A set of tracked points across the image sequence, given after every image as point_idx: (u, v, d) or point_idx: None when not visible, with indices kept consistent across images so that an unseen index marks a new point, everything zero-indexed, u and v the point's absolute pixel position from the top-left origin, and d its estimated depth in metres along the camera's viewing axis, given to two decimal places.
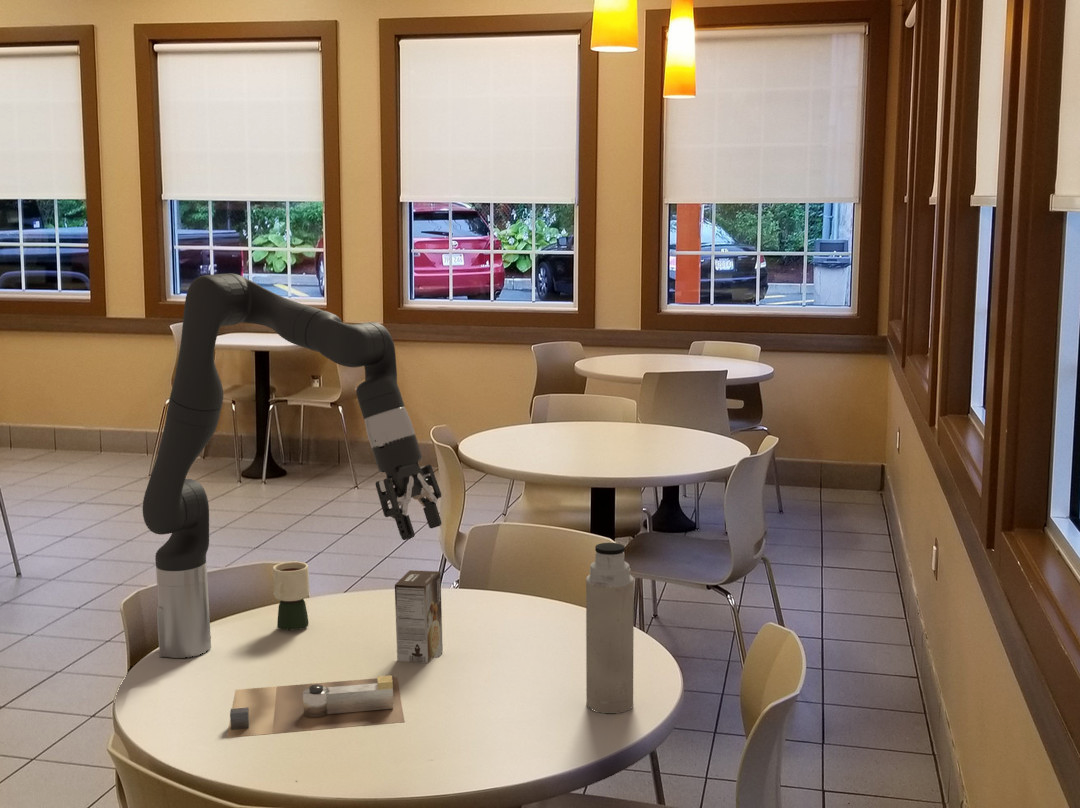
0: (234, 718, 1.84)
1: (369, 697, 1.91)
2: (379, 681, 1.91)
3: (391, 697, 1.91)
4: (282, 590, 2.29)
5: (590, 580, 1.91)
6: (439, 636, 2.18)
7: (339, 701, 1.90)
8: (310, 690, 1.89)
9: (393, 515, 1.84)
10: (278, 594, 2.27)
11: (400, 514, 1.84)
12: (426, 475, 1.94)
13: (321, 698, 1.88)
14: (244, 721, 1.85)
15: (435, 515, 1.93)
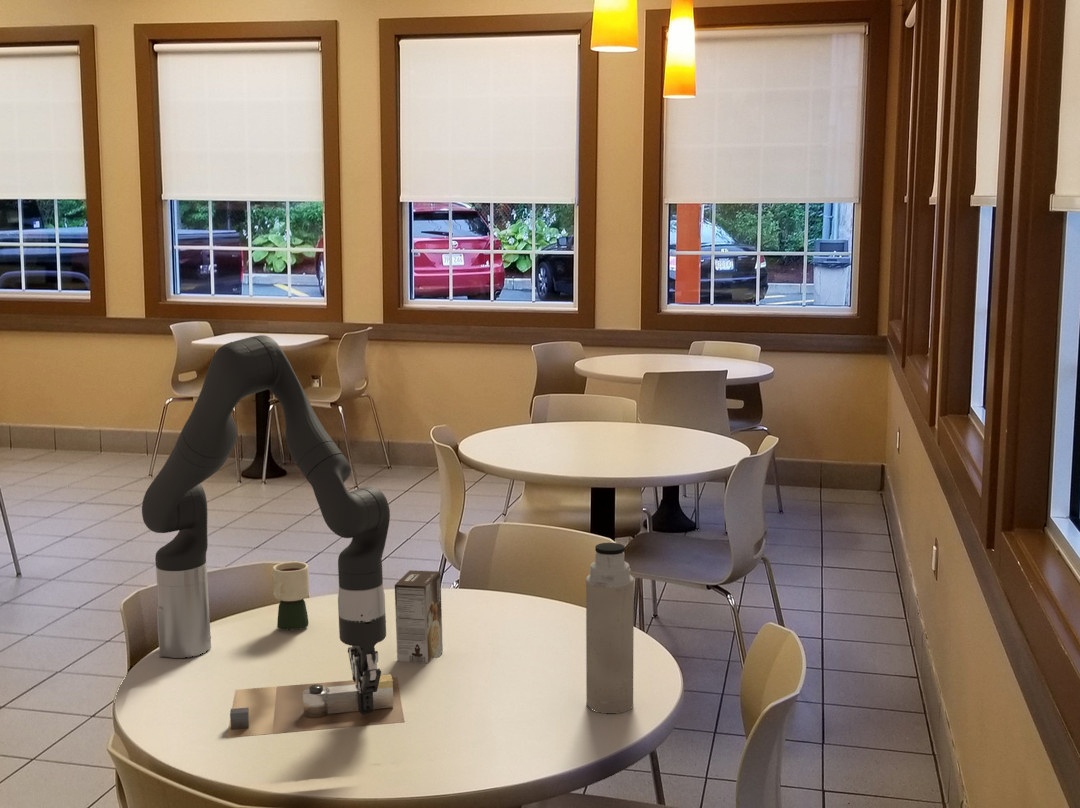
0: (234, 718, 1.84)
1: None
2: (379, 680, 1.91)
3: (391, 696, 1.92)
4: (282, 590, 2.29)
5: (590, 580, 1.91)
6: (439, 636, 2.18)
7: (339, 701, 1.90)
8: (310, 690, 1.89)
9: (369, 692, 1.86)
10: (278, 594, 2.27)
11: None
12: None
13: (322, 698, 1.88)
14: (244, 721, 1.85)
15: None
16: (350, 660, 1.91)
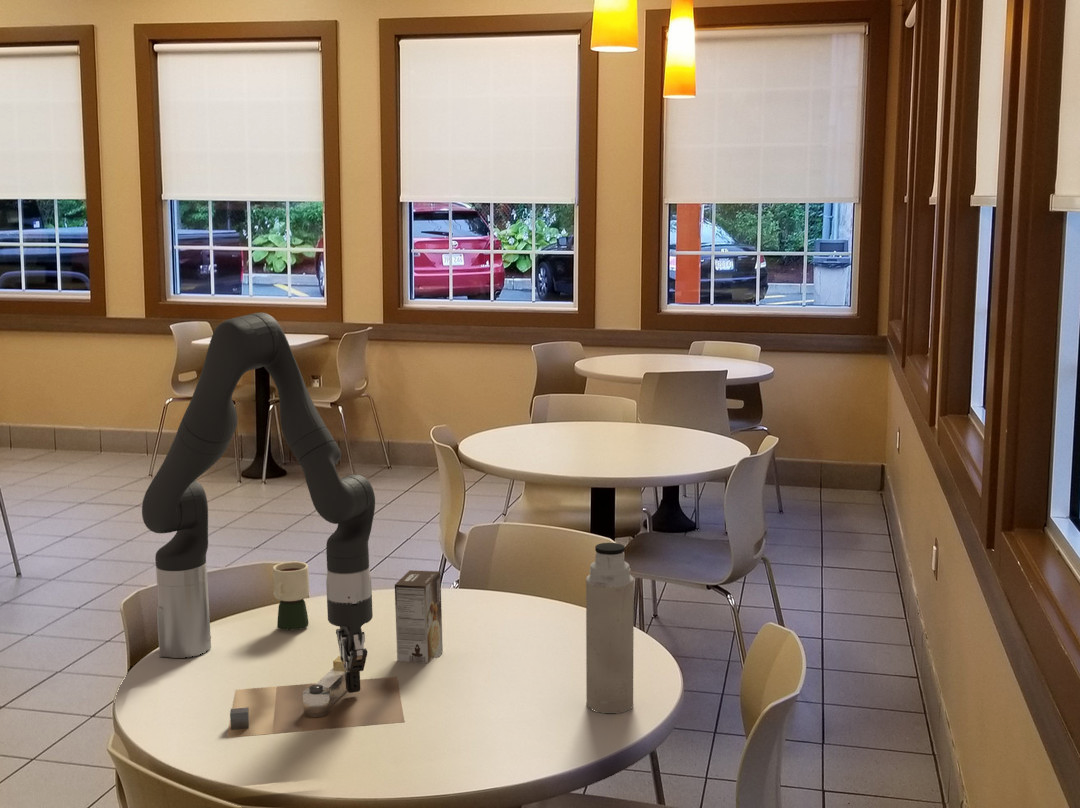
0: (234, 718, 1.84)
1: (345, 679, 1.98)
2: None
3: None
4: (282, 590, 2.29)
5: (590, 580, 1.91)
6: (439, 636, 2.18)
7: (333, 691, 1.94)
8: (316, 691, 1.89)
9: (356, 671, 1.94)
10: (278, 594, 2.27)
11: None
12: None
13: (329, 692, 1.91)
14: (244, 721, 1.85)
15: None
16: (338, 641, 2.00)
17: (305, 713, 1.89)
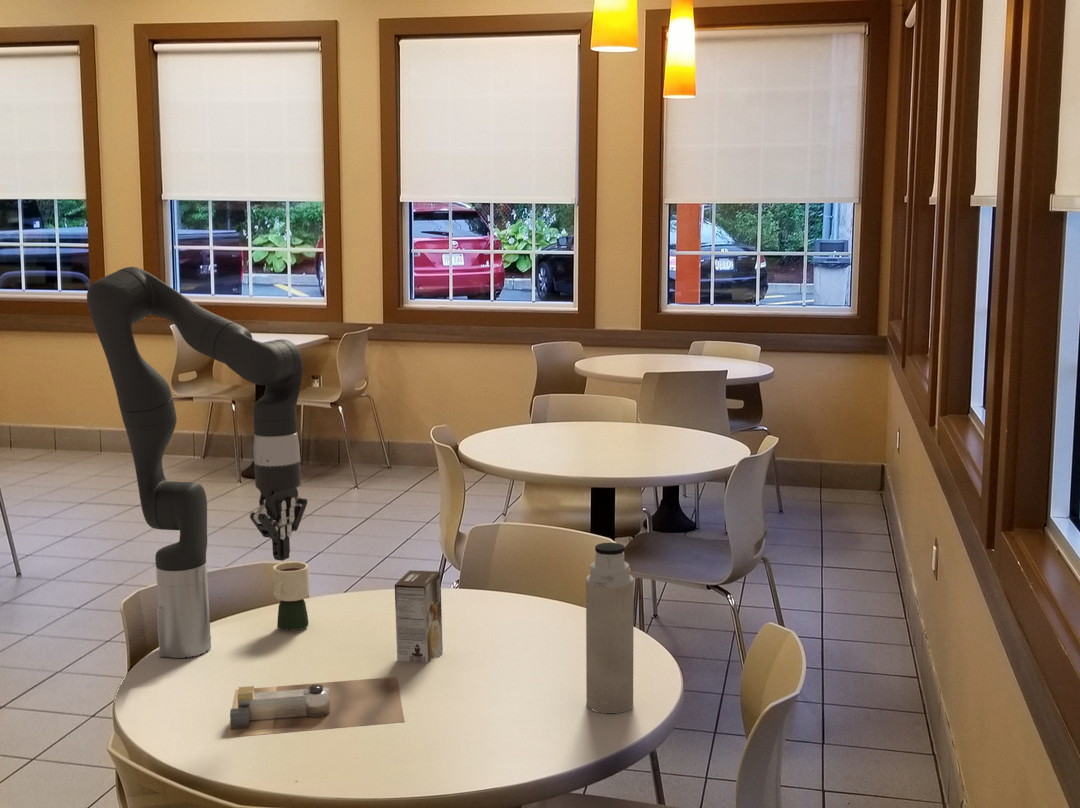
0: (234, 718, 1.84)
1: None
2: (251, 687, 1.89)
3: None
4: (282, 590, 2.29)
5: (590, 580, 1.91)
6: (439, 636, 2.18)
7: None
8: None
9: None
10: (278, 594, 2.27)
11: None
12: None
13: None
14: (244, 721, 1.85)
15: None
16: (268, 523, 1.90)
17: (327, 711, 1.90)
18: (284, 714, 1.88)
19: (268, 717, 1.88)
